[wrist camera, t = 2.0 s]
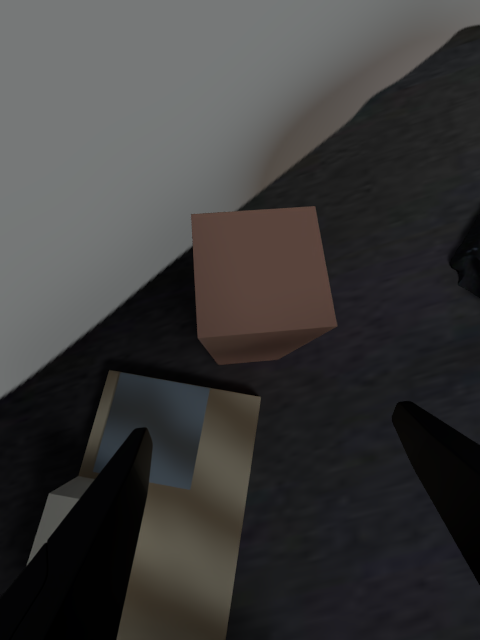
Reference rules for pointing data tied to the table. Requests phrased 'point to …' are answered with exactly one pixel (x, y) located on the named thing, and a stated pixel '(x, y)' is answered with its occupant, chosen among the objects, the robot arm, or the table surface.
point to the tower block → (259, 283)
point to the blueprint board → (180, 500)
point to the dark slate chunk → (469, 260)
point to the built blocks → (58, 509)
